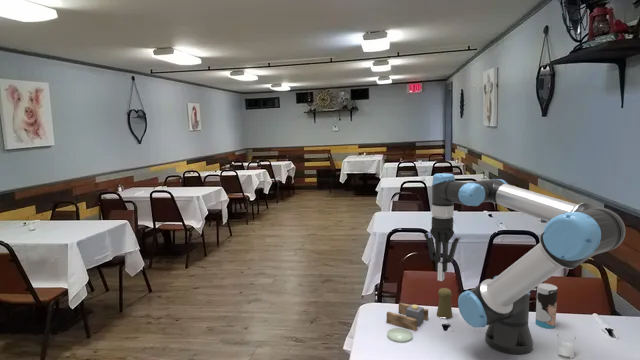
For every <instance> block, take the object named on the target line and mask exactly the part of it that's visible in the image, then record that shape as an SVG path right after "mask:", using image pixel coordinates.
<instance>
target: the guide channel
mask: <svg viewBox="0 0 640 360" xmlns="http://www.w3.org/2000/svg"><path fill="white" fill-rule="evenodd" d="M411 305H412V304H408V303H403V302H399V303H398V313H395V312H391V311H387V312H386V324H389V325H393V326H396V327H398V328H403V329H407V330H409V331H414V332H416V331H417V330H418V327H417V319H414V318H410V317H407V316H406V309H407V308H408V307H409V306H411ZM428 320H429V309H427V308H424V319H423V321H428Z"/></svg>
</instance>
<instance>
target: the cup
mask: <svg viewBox="0 0 640 360" xmlns="http://www.w3.org/2000/svg"><path fill="white" fill-rule="evenodd" d="M557 303H558V286H557V285H555V284H550V283H544V282H542V283H541V284H540V285H538V286H537V287H536V307H535V322H534V323H535V325H537V326H538V327H540V328H542V329H550V330H551V329H555V328H556V323H557V322H556V321H557Z"/></svg>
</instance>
